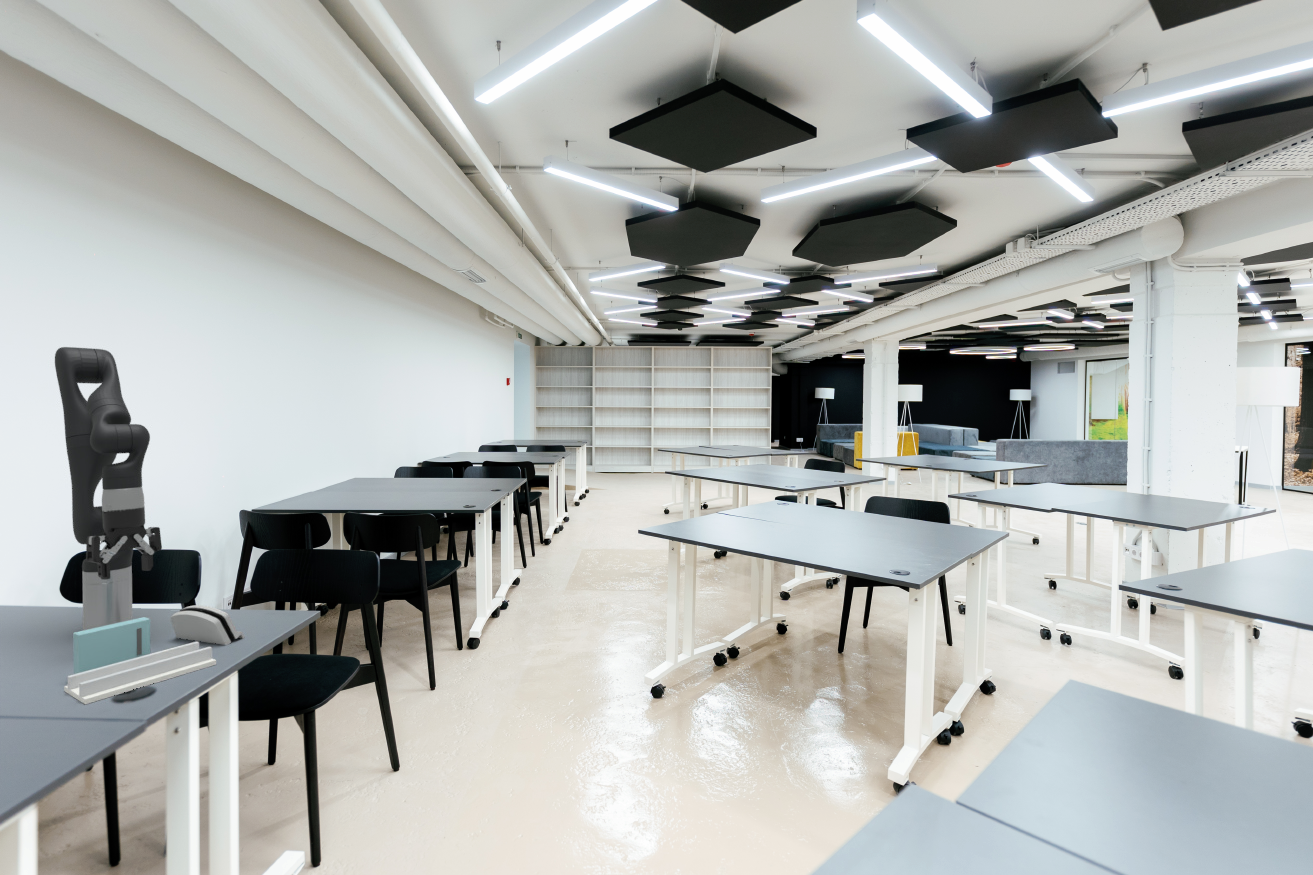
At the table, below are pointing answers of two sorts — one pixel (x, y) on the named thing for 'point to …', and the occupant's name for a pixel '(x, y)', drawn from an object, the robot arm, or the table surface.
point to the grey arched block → (204, 625)
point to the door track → (138, 672)
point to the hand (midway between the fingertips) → (126, 574)
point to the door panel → (110, 644)
